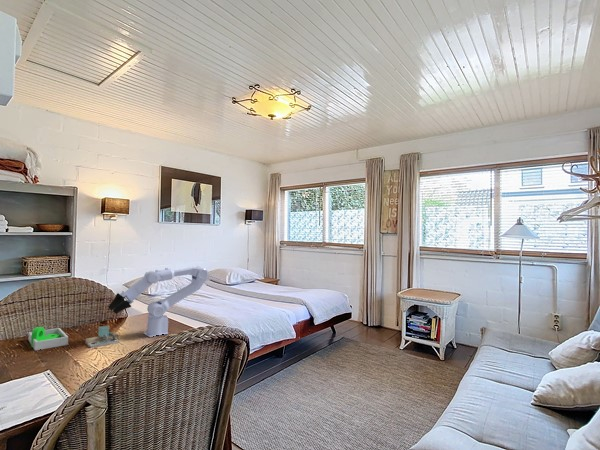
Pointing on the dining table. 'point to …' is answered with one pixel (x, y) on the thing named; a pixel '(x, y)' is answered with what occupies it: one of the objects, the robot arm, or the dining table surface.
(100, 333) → the sliding leg
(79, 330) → the dining table surface
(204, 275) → the robot arm
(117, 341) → the template plate
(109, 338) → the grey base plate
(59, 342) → the white tray
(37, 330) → the mechanical part
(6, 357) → the dining table surface
